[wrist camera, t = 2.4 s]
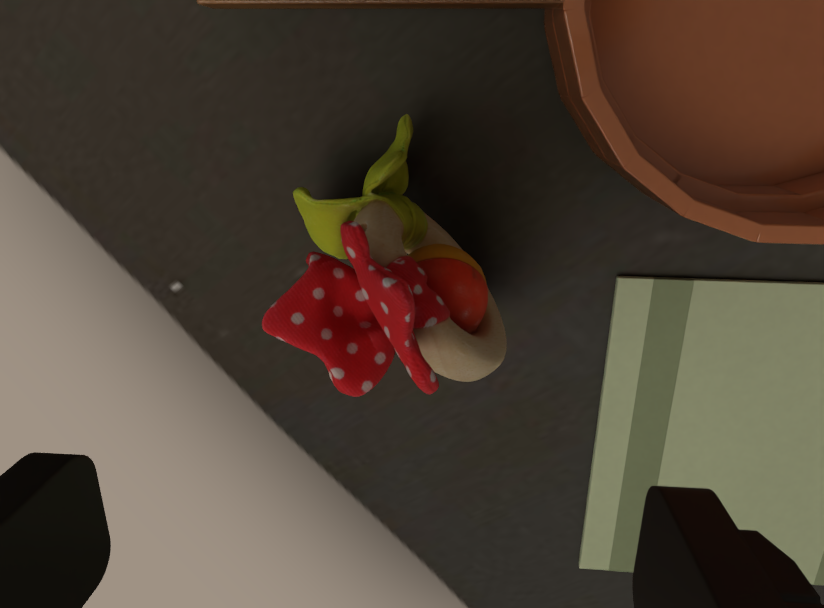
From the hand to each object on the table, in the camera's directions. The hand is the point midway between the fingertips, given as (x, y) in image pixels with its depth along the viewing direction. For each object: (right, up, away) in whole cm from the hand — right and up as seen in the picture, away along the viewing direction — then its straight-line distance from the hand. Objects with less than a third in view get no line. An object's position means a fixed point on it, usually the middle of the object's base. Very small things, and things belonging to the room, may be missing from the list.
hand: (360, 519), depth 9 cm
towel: (+16, -3, +18) cm, 24 cm away
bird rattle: (+1, +6, +16) cm, 17 cm away
